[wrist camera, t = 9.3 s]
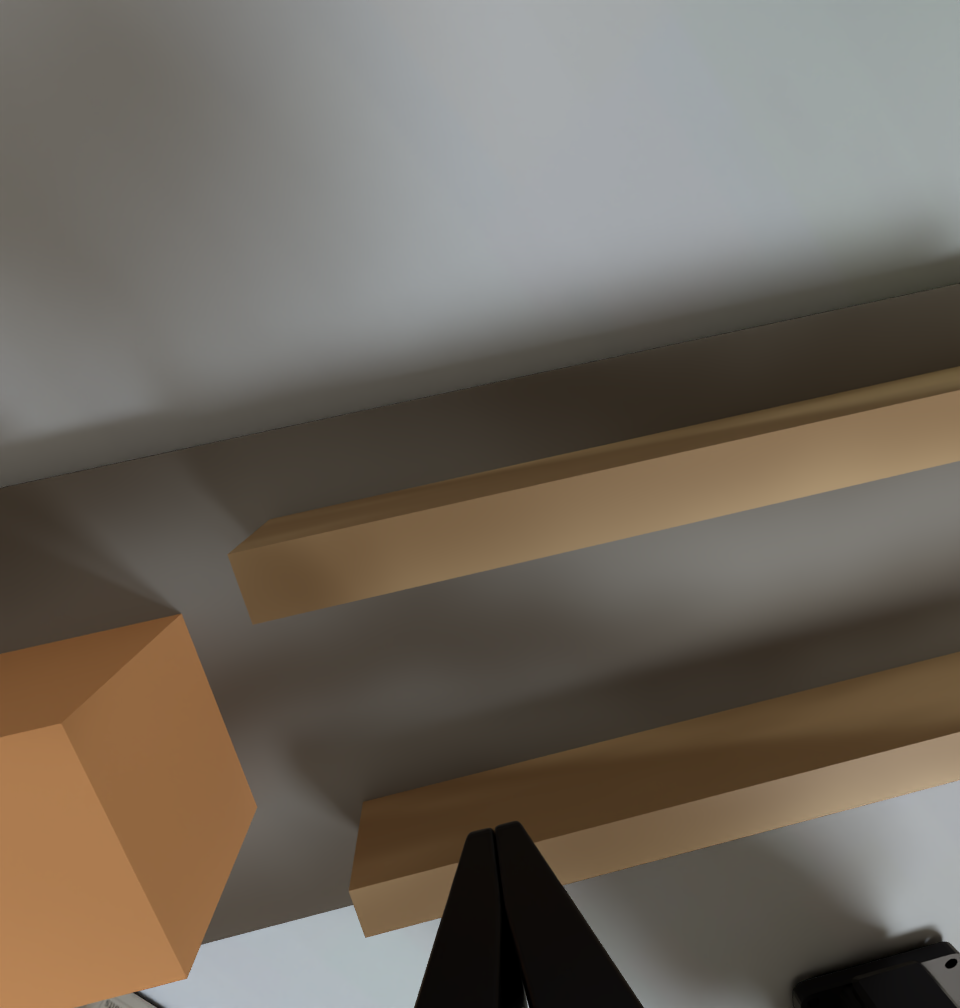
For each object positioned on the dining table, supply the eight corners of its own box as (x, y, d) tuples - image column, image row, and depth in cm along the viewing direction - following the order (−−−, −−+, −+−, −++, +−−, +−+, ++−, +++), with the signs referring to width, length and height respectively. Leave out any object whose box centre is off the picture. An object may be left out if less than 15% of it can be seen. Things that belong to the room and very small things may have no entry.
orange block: (257, 807, 13) (186, 978, 10) (35, 861, 13) (-130, 1060, 9) (181, 613, 12) (61, 722, 8) (-71, 670, 12) (-323, 811, 8)
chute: (1007, 710, 16) (1148, 788, 13) (8, 968, 15) (-108, 1129, 12) (1045, 264, 13) (1250, 224, 10) (-260, 543, 11) (-533, 605, 8)
